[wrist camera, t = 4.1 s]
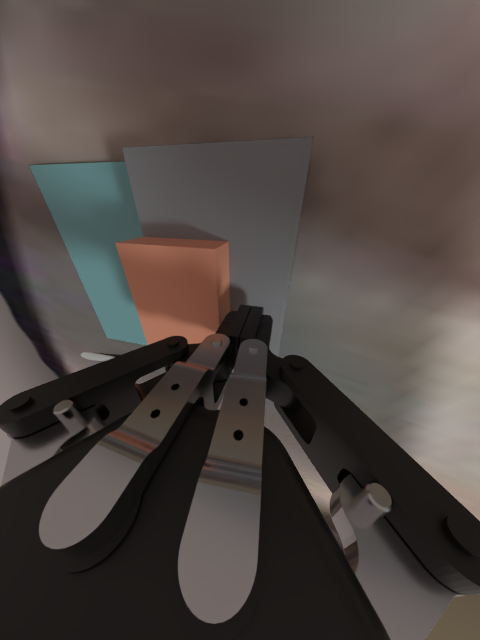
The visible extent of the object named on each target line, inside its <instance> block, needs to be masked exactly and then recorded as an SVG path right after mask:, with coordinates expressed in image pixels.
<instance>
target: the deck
mask: <svg viewBox="0 0 480 640" xmlns="http://www.w3.org/2000/svg"><path fill="white" fill-rule="evenodd" d="M312 143H313V137H302V138H284V139H266V140H248V141H230V142H213V143H195V144H177V145H159V146H141V147H124V148H122V150H123V155H124V159H125V163H126V167H127V171H128V175H129V179H130V184H131V188H132V192H133V196H134V200H135V204H136V208H137V213H138V217H139V221H140V225H141V229H142V233H143V237H157V238H175V239H193V240H212V241H229V284H230V312H231V311H237V310H238V308H239V307H240V305H241V304H242V305H250V306H259V307H264V311H263V315H271V317H272V319H273V325H272V333H271V340H270V347H269V349H270V351H271V352H272V353H273V354H274V355H276V356H279V350H280V343H281V337H282V331H283V325H284V318H285V312H286V306H287V300H288V293H289V287H290V281H291V274H292V268H293V262H294V256H295V249H296V243H297V237H298V231H299V224H300V218H301V212H302V206H303V199H304V193H305V187H306V180H307V174H308V168H309V162H310V155H311V149H312ZM233 371H234V369H233V370H232V373H233Z"/></svg>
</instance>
